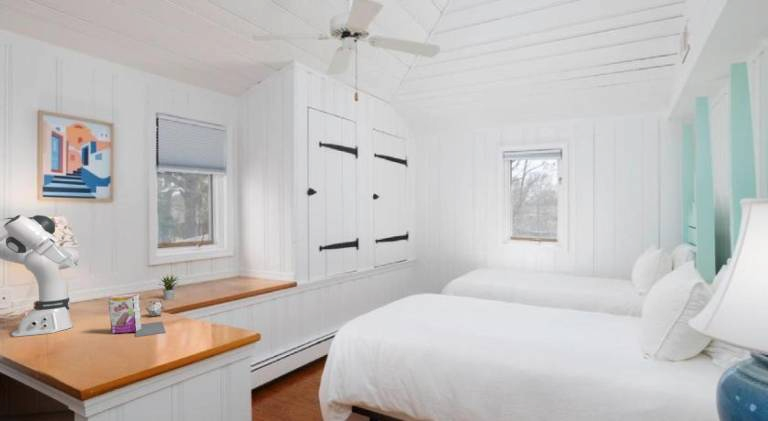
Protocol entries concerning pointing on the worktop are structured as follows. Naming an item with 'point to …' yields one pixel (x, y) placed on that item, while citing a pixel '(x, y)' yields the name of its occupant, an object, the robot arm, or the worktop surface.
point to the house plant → (169, 287)
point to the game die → (155, 308)
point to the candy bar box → (125, 313)
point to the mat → (151, 329)
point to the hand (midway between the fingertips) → (75, 266)
